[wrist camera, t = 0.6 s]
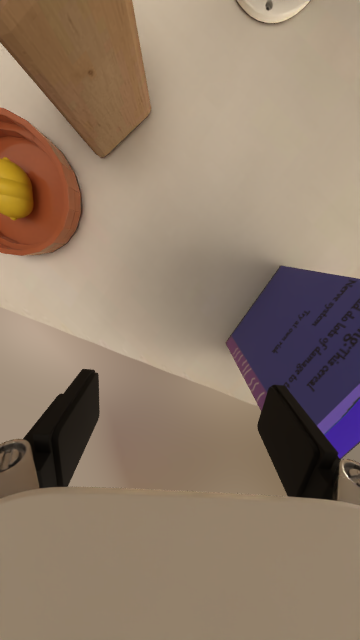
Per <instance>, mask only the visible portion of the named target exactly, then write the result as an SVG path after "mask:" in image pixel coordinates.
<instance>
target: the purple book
mask: <svg viewBox="0 0 360 640" xmlns="http://www.w3.org/2000/svg"><path fill="white" fill-rule="evenodd" d="M226 345H227V347H228V349H229V350H230V352H231V354H232V356H233V358H234V360H235V362H236V364H237V366H238V368H239V370H240V371H241V373H242V375H243V377H244V379H245V381H246V383H247V385H248V387H249V389H250V391H251V392H252V394H253V396H254V398H255V400H256V402H257V404H258V406H259V408H260V410H261V411H262V408H263V405H264V401H265V398H266V395H267V391H268V388H269V387H271V386H272V385H284V386H285V387H286V388H287V389H288V390H289V392H290V393H291V394H292V395H293V397H294V398H295V399H296V400H297V402H298V403H299V404H300V405H301V407H302V408H303V409H304V410H305V412H306V413H307V414H308V415H309V417H310V418H311V419H312V420H313V422H314V423H315V424H316V425H317V427H318V428H319V429H320V430H321V432H322V433H323V434H324V435H325V437H326V438H327V439H328V440H329V442H330V443H331V444H332V445H333V447H334V448H335V449H336V450H337V452H338V453H339V454H338V457H339V458H340V459H342V458H343V457H344V456H345V455H346V454H347V453H348V452H349V451H351V450H352V449H353V448H354V447H355V446H357V445H358V444H359V443H360V279H357V278H351V277H345V276H339V275H333V274H327V273H321V272H315V271H309V270H303V269H297V268H291V267H285V266H280V267H279V269H278V270H277V271H276V273H275V274H274V276H273V277H272V278H271V280H270V281H269V283H268V284H267V285H266V287H265V288H264V290H263V291H262V292H261V294H260V295H259V297H258V298H257V299H256V301H255V302H254V304H253V305H252V307H251V308H250V309H249V311H248V312H247V314H246V315H245V316H244V318H243V319H242V321H241V322H240V323H239V325H238V326H237V328H236V329H235V330H234V332H233V333H232V335H231V336H230V337H229V339H228V340H227V342H226Z"/></svg>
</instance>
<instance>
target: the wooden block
mask: <svg viewBox="0 0 360 640" xmlns="http://www.w3.org/2000/svg"><path fill="white" fill-rule="evenodd" d="M0 42H1V43H2V45H3V46H4V47H5V48H6V49H7V50H8V52H9V53H10V54H11V55H12V56H13V57H14V59H15V60H16V61H17V62H18V63H19V65H20V66H21V67H22V68H23V69H24V70H25V72H26V73H27V74H28V75H29V76H30V77H31V79H32V80H33V81H34V82H35V83H36V84H37V86H38V87H39V88H40V89H41V90H42V91H43V93H44V94H45V95H46V96H47V97H48V99H49V100H50V101H51V102H52V103H53V104H54V106H55V107H56V108H57V109H58V110H59V111H60V113H61V114H62V115H63V116H64V117H65V118H66V120H67V121H68V122H69V123H70V124H71V126H72V127H73V128H74V129H75V130H76V131H77V133H78V134H79V135H80V136H81V137H82V138H83V140H84V141H85V142H86V143H87V144H88V145H89V147H90V148H91V149H92V150H93V151H94V152H95V154H97V155H98V156H99V157H105V156H106V155H107V154H108V153H109V152H111V151H112V150H113V149H114V148H115V147H116V146H117V145H118V144H119V143H120V142H121V141H122V140H123V139H124V138H125V137H126V136H127V135H128V134H129V133H130V132H131V131H132V130H133V129H134V128H135V127H137V126H138V125H139V124H140V123H141V122H142V121H143V120H144V119H145V118H146V117H147V116H148V115H149V113H150V111H151V105H150V99H149V94H148V88H147V82H146V77H145V71H144V65H143V60H142V54H141V48H140V43H139V37H138V31H137V26H136V20H135V15H134V9H133V3H132V0H0Z"/></svg>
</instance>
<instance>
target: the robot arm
mask: <svg viewBox="0 0 360 640" xmlns="http://www.w3.org/2000/svg"><path fill="white" fill-rule="evenodd" d="M237 1H238V3H239V4H240V6H241V7H242V8H243V9H244V10H245V11H246V12H247V13H248V14H249V15H250V16H251V17H253V18H255V19H256V20H258V21H262V22H265V23H277V22H281V21H285V20H287V19H289V18H291V17H293V16H294V15H296V14H297V13H298V12H299V11H301V10H302V9H303V8H304V7H305V6H306V5H307V3H308V2H309V1H310V0H237ZM98 418H99V380H98V373H95V371H94V370H89V369H82V370H81V372H80V373H79V374H78V376H77V377H76V378H75V379H74V381H73V382H72V383H71V385H70V386H69V387H68V389H67V390H66V391H65V393H64V394H59V395H58V396H57V397H56V399H55V400H54V401H53V402H52V404H51V405H50V406H49V407H48V409H47V410H46V411H45V412H44V414H43V415H42V416H41V417H40V419H39V420H38V421H37V422H36V423H35V425H34V426H33V427H32V429H31V430H30V431H29V432H28V433H27V435H26V436H25V437H24V438H23V439H13V440H10V441H6V442H4V443H2V444H0V640H360V463H358V462H356V461H353V460H349V459H343V460H341V459H340V458H339V457H338V454H339V453H338V452H337V450H336V449H335V448H334V447H333V445H332V444H331V443H330V442H329V440H328V439H327V438H326V437H325V435H324V434H323V433H322V432H321V430H320V429H319V428H318V427H317V425H316V424H315V423H314V422H313V420H312V419H311V418H310V417H309V415H308V414H307V413H306V412H305V410H304V409H303V408H302V407H301V405H300V404H299V403H298V402H297V400H296V399H295V398H294V397H293V395H292V394H291V393H290V392H289V390H288V389H287V388H286V387H285V386H284V385H272V386H271V387H269V388H268V391H267V395H266V398H265V401H264V405H263V408H262V411H261V415H260V418H259V421H258V431H259V434H260V436H261V438H262V440H263V442H264V445H265V447H266V449H267V451H268V453H269V456H270V457H271V460H272V462H273V464H274V467H275V469H276V471H277V473H278V476H279V478H280V480H281V482H282V484H283V487H284V489H285V491H286V493H287V495H288V496H270V495H251V494H234V493H215V492H196V491H175V490H154V489H130V488H106V487H68V484H69V482H70V480H71V478H72V476H73V474H74V471H75V469H76V467H77V465H78V463H79V460H80V458H81V456H82V454H83V452H84V449H85V447H86V445H87V443H88V441H89V438H90V436H91V434H92V432H93V430H94V427H95V425H96V423H97V421H98Z"/></svg>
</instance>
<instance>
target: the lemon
mask: <svg viewBox="0 0 360 640" xmlns="http://www.w3.org/2000/svg"><path fill="white" fill-rule="evenodd" d="M32 210H33V192H32V185H31V181H30V179H29V177H28V176H27V174H26V173H25V171H24V170H23V169H22V168H21V167H19V166H18V165H17V164H15V163H13V162H11V161H10V160H9V159H8V158H7V157H3V159H0V213H1V214H3V215H5V216H8V217H10V218H11V219H12V220H17V219H18V218H24V217H26V216H28V215H29V214H30V213H31V212H32Z"/></svg>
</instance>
